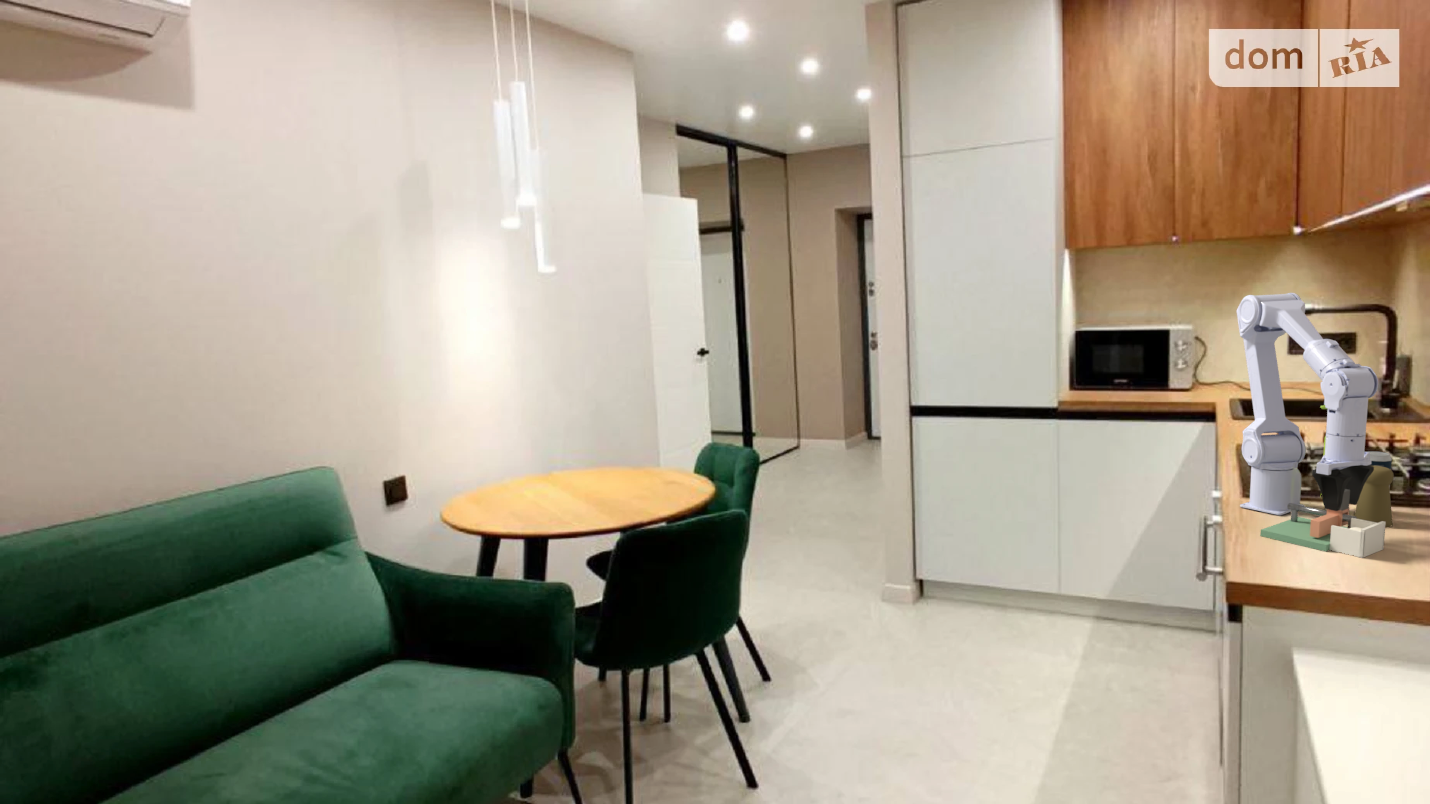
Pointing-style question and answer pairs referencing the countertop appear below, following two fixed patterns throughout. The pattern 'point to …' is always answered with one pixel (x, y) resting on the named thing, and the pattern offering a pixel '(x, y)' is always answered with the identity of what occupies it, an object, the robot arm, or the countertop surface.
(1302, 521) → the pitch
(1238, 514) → the countertop surface
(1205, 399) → the countertop surface
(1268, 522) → the countertop surface
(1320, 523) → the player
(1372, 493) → the cork
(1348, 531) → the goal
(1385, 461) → the beer can
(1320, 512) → the rod
